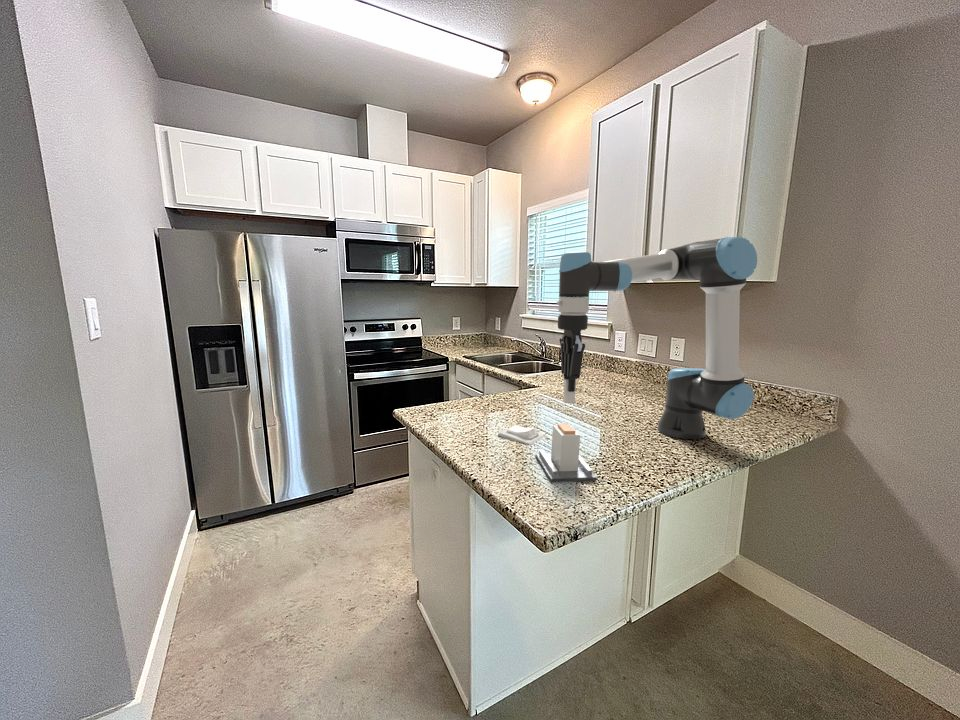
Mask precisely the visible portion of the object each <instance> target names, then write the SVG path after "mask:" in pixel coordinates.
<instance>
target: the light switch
mask: <svg viewBox="0 0 960 720" xmlns="http://www.w3.org/2000/svg"><path fill="white" fill-rule="evenodd" d="M497 436H498V437H501V438H505V439H507V440H511V441H514V442H517V443H521V444H525V445H527V446H528V445H529V446H531V445H533V444H535V443H537V442H538V441H541V440H542V439H543V438H545V437H547V435H546V434H545V433H542V432H540V431H537V430H536V428H535V427H533V426H532V427H524V426H521V425H518V424H515V425H513V426H511V427H509V428H506V429H504V430H503V431H501V432H498V434H497Z"/></svg>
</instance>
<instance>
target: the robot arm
mask: <svg viewBox="0 0 960 720" xmlns="http://www.w3.org/2000/svg"><path fill="white" fill-rule="evenodd" d="M559 261H560V262H559V270H558V271H559V280H558V281H559V285H558V287H559V288H558V300H557V301H556V304H557V305H558V313H560V314H559V315H558V316H557V328H558V329H559V330H562V331H563V334H562V335H563V336H562V337H561V338H559V346H560V368H561V370H560V371H561V372H560V373H561V374H562V376H563V398H562V399H563V403H564V404H576V387H577V386H576V385H577V383H576V382H577V379H580V377H581V371H582V364H583V357H584V352H585V349H586V344H585V343H582V340H583V339H582V331H586V330H587V329H588V325H589V324H588V323H589V322H588V321H589V316H588V315H587V314H588V313H589V308H590V307H589V305H590V292H621V291H625V290H627V289H628V288H629V287H630V285H631V284H632V283H638V282H644V281H651V280H656V279H661V280H663V281H670V280H673V281H674V280H687V281H699V289H701V290H702V291H703V292H705V368H700V367H698V368H696V367H694V368H693V367H683V368H682V367H679V368H672V369H670V370H669V372H668V377H667V382H666V394H665V405H664V410H663V412H662V414H661V416H660V419H659V420H658V423H657V431H658V432H660V433H661V434H664V435H666V436H669V437H670V438H671V437H672V438H675V439H680V438H681V440H688V439H698V440H702V439H701V438H703V439H705V438H706V433H707V429H706V425H705V420H704V415H703V412H705V413H708V414H711V415H715V416H717V417H719V418H724V419H728V420H736V419H739V418H741V417H742V416H744V415H745V414H746V413H747V412H748V410H750V408H751V407H752V404H753V402H754V397H755V391H754V389H753V388H752V386H751V385H750V384H748V383H746V382H745V373H744V372H742V371H741V370H740V368H739V367H740V366H739V365H740V364H739V361H740V359H739V358H740V357H739V356H740V355H739V354H740V347H739V346H740V304H741V303H740V297H741V296H740V295H741V294H740V292H741V290H742V288H744V287H745V285H746V284H747V279H748V278H749V277H751V276H752V275H753V274H754V272H755V269H757V266H758V253H757V251H756V248H755V246H754V245H753V243H751V241H750V240H749V239H747V238H746V237H743V236H742V237H741V236H732V237H731V236H730V237H729V236H726V237H722V238H721V237H720V238H715V239H708V240H702V241H695V242H692V243H691V242H690V243H687V244H684V245H680V246H676V247H673V248H668V249H663V250H661V251H659V252H658V253H654V254H648V255H640V256H635V257H633V256H632V257H625V258H619V259H613V260H607V261H606V260H605V261H596V260H595V261H594V260H592V255H591V253H590V252H587V251H569V252H565V253H563V254H562V255H561V256H560V260H559ZM704 437H705V438H704Z"/></svg>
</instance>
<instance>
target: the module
mask: <svg viewBox="0 0 960 720" xmlns="http://www.w3.org/2000/svg"><path fill="white" fill-rule="evenodd" d="M580 444H581V434H580V433H579V431H577V430H576V429H575V428H574V427H573V426H572V425H571V424H569V423H567V422H566V423H564V422H563V423H557V424H553V425H552V436H551V452H550V453H551V459H552V461H553V462H554V464H555V465H556V467H557V468H558V470H559V471H578V462H579V455H580Z"/></svg>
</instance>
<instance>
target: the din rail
mask: <svg viewBox="0 0 960 720" xmlns="http://www.w3.org/2000/svg"><path fill="white" fill-rule="evenodd" d="M535 458H536V459H537V462H538V463H539V465H540V466H541V468H542V470H543V472H544V473H545V475H546V477H547V478H548V480H549V482H550V483H575V482H596V481H597V476H596V475H595V474H594V473H593V469H592V468H591V467H590V466H589V465H588V463H587V462H586V461H585V460H584V459H583V458H582V456H581V455H580V454H579V462H578V471H559V470H558V468H557V467H556V465H555V464H554V462H553V461H552V459H551V452H546V451H545V450H544V449H539V451H538V452H535Z"/></svg>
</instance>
